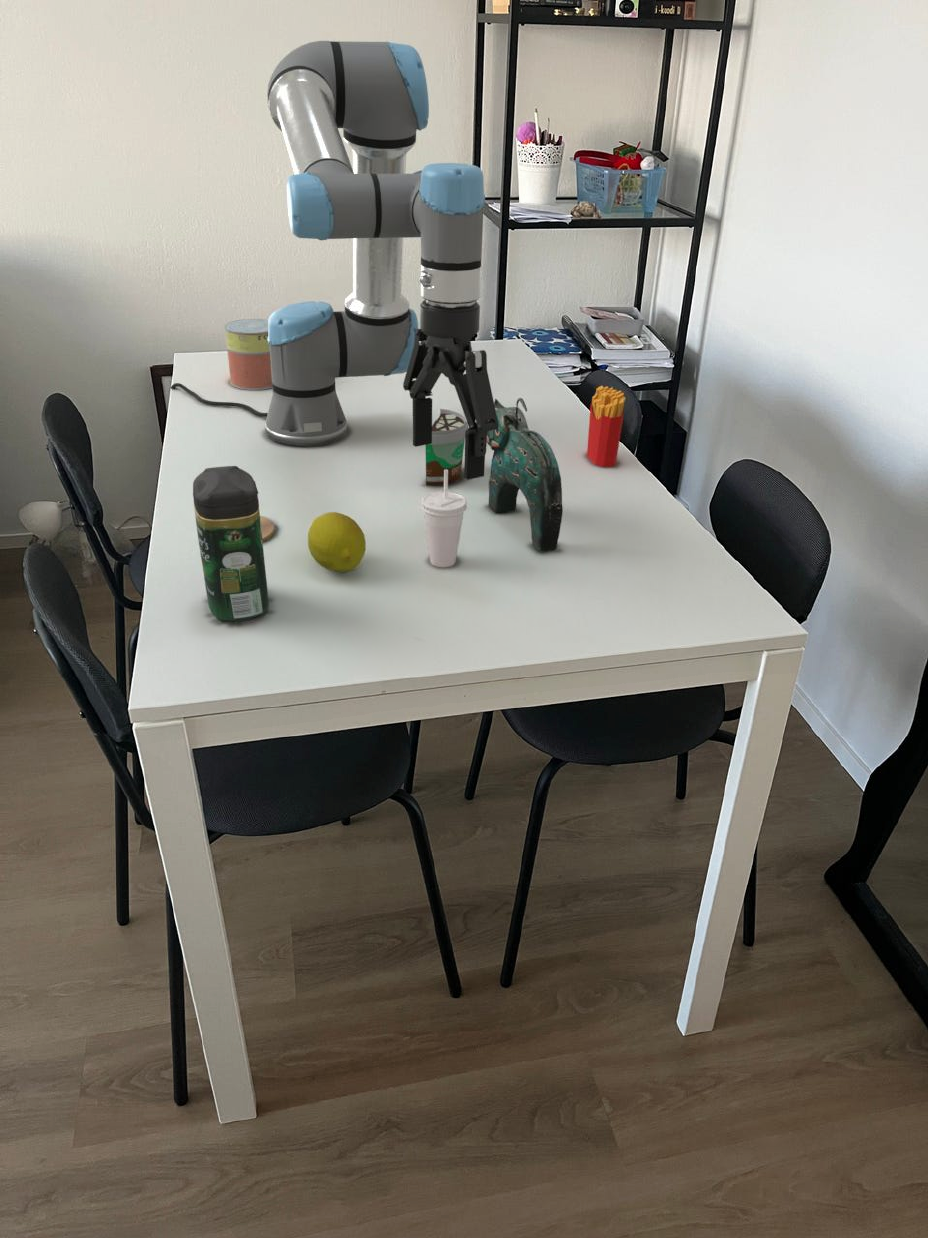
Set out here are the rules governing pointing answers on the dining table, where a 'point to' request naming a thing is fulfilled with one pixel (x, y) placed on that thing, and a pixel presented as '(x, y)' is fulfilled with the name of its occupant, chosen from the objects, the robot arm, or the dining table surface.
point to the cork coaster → (266, 528)
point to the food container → (446, 448)
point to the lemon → (336, 542)
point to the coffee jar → (231, 543)
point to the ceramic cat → (525, 475)
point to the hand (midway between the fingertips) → (447, 460)
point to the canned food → (249, 354)
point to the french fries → (605, 426)
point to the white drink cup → (443, 524)
